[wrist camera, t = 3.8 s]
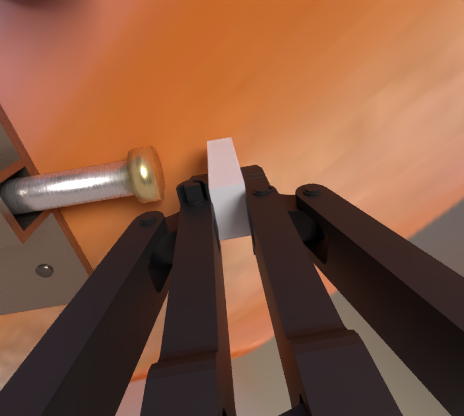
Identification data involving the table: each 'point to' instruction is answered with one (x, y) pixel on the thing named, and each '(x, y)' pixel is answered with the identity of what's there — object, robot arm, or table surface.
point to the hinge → (34, 243)
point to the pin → (88, 184)
